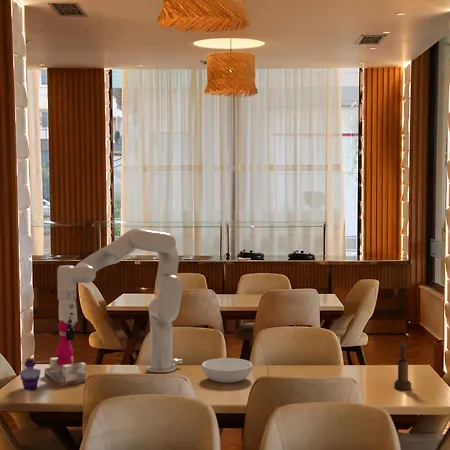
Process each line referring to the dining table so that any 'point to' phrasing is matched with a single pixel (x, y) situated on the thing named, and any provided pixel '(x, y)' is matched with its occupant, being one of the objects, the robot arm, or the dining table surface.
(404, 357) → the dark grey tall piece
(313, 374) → the dining table surface
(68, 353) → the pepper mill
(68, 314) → the robot arm
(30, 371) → the potion bottle
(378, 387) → the dining table surface
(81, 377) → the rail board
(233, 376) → the serving bowl
